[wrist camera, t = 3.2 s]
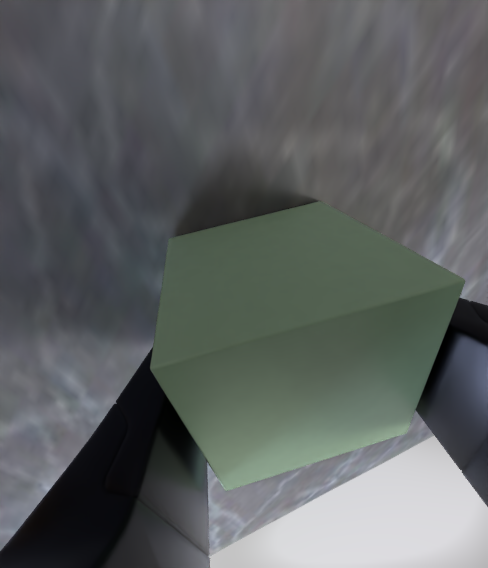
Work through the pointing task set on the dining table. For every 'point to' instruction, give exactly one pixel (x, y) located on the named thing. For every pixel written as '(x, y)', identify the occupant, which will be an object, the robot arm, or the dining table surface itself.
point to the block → (296, 338)
